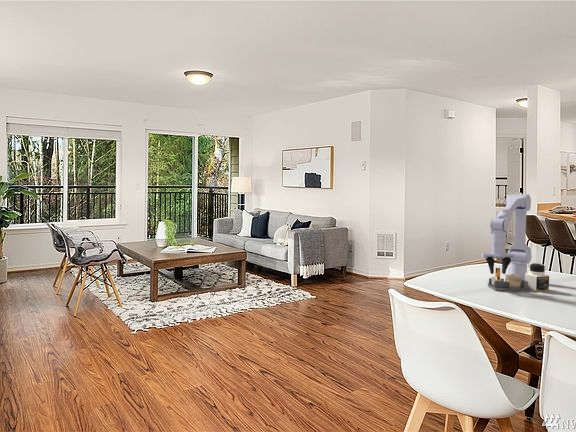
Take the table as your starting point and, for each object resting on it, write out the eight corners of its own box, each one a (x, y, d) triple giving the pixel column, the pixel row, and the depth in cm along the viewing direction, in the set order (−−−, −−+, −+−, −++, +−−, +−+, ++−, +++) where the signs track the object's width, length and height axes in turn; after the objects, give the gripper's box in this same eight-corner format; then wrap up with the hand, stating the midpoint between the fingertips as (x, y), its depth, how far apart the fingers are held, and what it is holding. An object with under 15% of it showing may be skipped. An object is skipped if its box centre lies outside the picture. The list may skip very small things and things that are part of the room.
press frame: (487, 286, 214) (487, 276, 214) (519, 286, 213) (519, 277, 213) (495, 291, 204) (495, 281, 204) (528, 291, 203) (529, 281, 203)
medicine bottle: (536, 291, 203) (537, 265, 202) (524, 288, 210) (525, 263, 209) (549, 290, 205) (550, 264, 204) (536, 287, 212) (537, 262, 211)
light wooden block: (505, 284, 211) (505, 273, 210) (516, 284, 210) (516, 273, 210) (508, 286, 207) (508, 275, 206) (519, 286, 206) (520, 275, 206)
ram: (490, 283, 212) (491, 266, 211) (497, 283, 211) (498, 266, 211) (494, 285, 207) (495, 268, 206) (501, 286, 206) (502, 268, 206)
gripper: (485, 245, 203) (484, 275, 204) (518, 245, 202) (517, 275, 203) (480, 243, 210) (479, 271, 211) (512, 243, 209) (511, 272, 210)
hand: (497, 273), depth 207 cm, fingers open, 5 cm apart
